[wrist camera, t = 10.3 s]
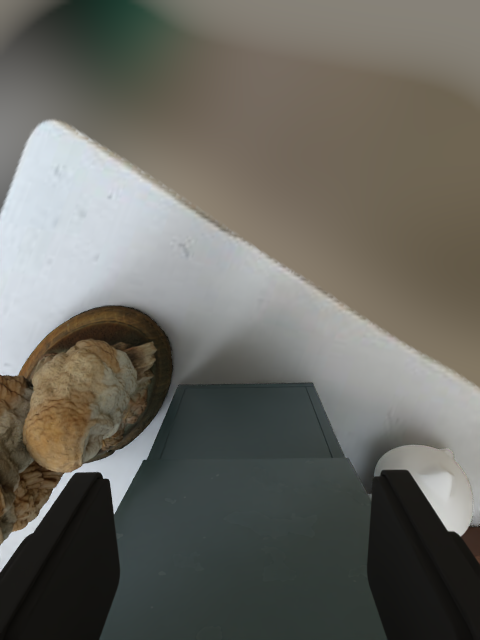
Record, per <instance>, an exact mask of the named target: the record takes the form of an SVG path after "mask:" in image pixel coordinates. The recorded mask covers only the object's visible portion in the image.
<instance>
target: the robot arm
mask: <svg viewBox="0 0 480 640" xmlns="http://www.w3.org/2000/svg"><path fill="white" fill-rule="evenodd" d="M367 577H368V582H369V586H370V590H371V593H372V596H373V599H374V601H375V604H376V607H377V610H378V613H379V616H380V619H381V622H382V625H383V628H384V631H385V634H386V637H387V640H480V564H479V562H478V561H477V559H476V558H475V556H474V555H473V553H472V552H471V550H470V549H469V547H468V546H467V545H466V543H465V542H464V540H463V539H462V538H461V537H460V535H459V534H457V533H456V532H454V531H448V530H447V529H446V527H445V526H444V524H443V523H442V521H441V520H440V518H439V517H438V515H437V513H436V512H435V510H434V509H433V507H432V506H431V504H430V503H429V501H428V500H427V498H426V497H425V495H424V493H423V492H422V490H421V489H420V487H419V486H418V484H417V483H416V481H415V480H414V478H413V477H412V475H411V473H410V472H409V471H408V470H382V471H381V473H380V476H375V477H374V478H373V485H372V499H371V514H370V529H369V543H368V558H367ZM119 580H120V563H119V554H118V546H117V538H116V529H115V521H114V513H113V504H112V496H111V488H110V482H109V479H103V476H102V474H101V473H99V472H86V473H75V474H74V475H73V476H72V478H71V479H70V481H69V482H68V483H67V485H66V486H65V488H64V489H63V491H62V492H61V494H60V495H59V496H58V498H57V499H56V501H55V502H54V504H53V505H52V507H51V508H50V510H49V511H48V512H47V514H46V515H45V517H44V518H43V520H42V521H41V523H40V524H39V525H38V527H37V528H36V530H35V531H34V533H33V534H30V535H29V536H27V537H26V538H25V539H24V540H23V541H22V543H21V544H20V545H19V547H18V548H17V550H16V551H15V553H14V554H13V555H12V557H11V558H10V560H9V561H8V562H7V564H6V565H5V567H4V568H3V570H2V571H1V572H0V640H99V639H100V636H101V633H102V630H103V628H104V625H105V622H106V619H107V616H108V613H109V611H110V608H111V605H112V602H113V599H114V597H115V594H116V591H117V588H118V585H119Z"/></svg>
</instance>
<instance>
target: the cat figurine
mask: <svg viewBox="0 0 480 640" xmlns="http://www.w3.org/2000/svg"><path fill="white" fill-rule="evenodd" d="M382 470H408V471H409V472H410V473H411V475H412V477H413V478H414V480H415V481H416V483H417V484H418V486H419V487H420V489H421V490H422V492H423V493H424V495H425V497H426V498H427V500H428V501H429V503H430V504H431V506H432V507H433V509H434V510H435V512H436V513H437V515H438V517H439V518H440V520H441V521H442V523H443V524H444V526H445V527H446V529H447V530H448V531H454V532H456V533H457V534H459V535H460V537H461V536H462V535H463V534H464V533H465V532H466V530H467V529H468V527H469V525H470V522H471V520H472V515H473V494H472V490H471V486H470V483H469V481H468V478H467V476H466V474H465V473H464V471H463V469H462V468H461V467H460V466H459V464H458V463H457V462H456V461H455V460H454V454H453V452H452V451H451V450H450V449H448V448H443V449H439V450H438V449H436V448H433V447H430V446H425V445H405V446H400V447H397V448H394V449H392V450H390V451H388V452H387V453H385V454H384V455H383V456H382V457H381V458H380V459H379V461H378V463H377V465H376V467H375V472H374V477H375V476H380V473H381V471H382ZM368 495H369V497H370V499H372V494H368Z"/></svg>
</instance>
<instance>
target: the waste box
mask: <svg viewBox="0 0 480 640" xmlns="http://www.w3.org/2000/svg"><path fill="white" fill-rule="evenodd" d="M284 458H345V457H344V454H343V452H342V450H341V447H340V445H339V443H338V440H337V438H336V436H335V433H334V431H333V429H332V427H331V424H330V422H329V420H328V417H327V415H326V413H325V410H324V408H323V406H322V403H321V401H320V399H319V396H318V394H317V392H316V390H315V387H314V385H313V383H282V384H212V385H178V387H177V390H176V392H175V394H174V397H173V399H172V401H171V404H170V406H169V409H168V411H167V413H166V416H165V418H164V420H163V423H162V425H161V427H160V430H159V432H158V435H157V437H156V439H155V442H154V444H153V446H152V449H151V451H150V453H149V456H148V458H147V460H192V459H284Z"/></svg>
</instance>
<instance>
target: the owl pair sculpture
mask: <svg viewBox="0 0 480 640" xmlns="http://www.w3.org/2000/svg"><path fill="white" fill-rule="evenodd" d="M171 350H172V349H171V347H170V342H169V340H168V337H167V336H166V335H165V333H164V331H163V330H162V329H161V328H160V326H158V325H157V324H156V322H155V321H154V320H152V319H151V318H150V317H149V316H148V315H147V314H144V313H143V312H140V311H138V310H137V309H136V310H135V309H134V308H129V307H124V306H103V307H99V308H93V309H91V310H88V311H85V312H83V313H81V314H78V315H76V316H74V317H72V318H71V319H69V320H68V321H66V322H64V323H63V324H61V325H60V326H58V327H57V328H56V329H54V330H53V331H52V332H51V333H50V334H48V335H47V336H46V337H45V338H44V339H43V340H42V341H41V342H40V344H39V345H38V346H37V347H36V349H35V350H34V351H33V352H32V353H31V355H30V356H29V358H28V359H27V361H26V362H25V364H24V365H23V367H22V369H21V371H20V373H19V375H18V376H13V377H11V376H7V375H6V376H1V375H0V545H1V544H2V543H3V541H4V540H5V539H7V537H8V536H9V534H10V533H11V532H14V531H17V530H21V529H23V528H24V527H26V526H27V525H28V522H31V521H32V520H34V519H35V518H36V517H37V516H38V514H39V511H40V509H41V508H42V506H43V505H44V504H45V503H46V502H47V501H48V500H49V497H50V495H51V493H52V490H53V488H55V487H56V486H57V484H58V483H59V481H60V479H61V477H62V475H63V474H64V473H67V472H72V471H73V470H75V469H78V468H79V467H81V466H82V464H84V463H89V462H93V461H97V460H100V459H103V458H106V457H108V456H109V455H112V454H113V453H114V452H115V450H118V449H122V448H123V447H125V446H126V445H128V444H129V443H130V442H132V441H133V440H134V439H135V438H136V437H137V436H139V434H140V433H141V432H143V430H144V429H145V428H146V427H147V426H148V425H149V424H150V422H151V421H152V420H153V419H154V417H155V416H156V414H157V412H158V411H159V409H160V408H161V405H162V403H163V401H164V399H165V397H166V395H167V392H168V389H169V386H170V381H171V376H172V370H173V365H172V358H171V356H172V354H171ZM107 451H108V452H107Z"/></svg>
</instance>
